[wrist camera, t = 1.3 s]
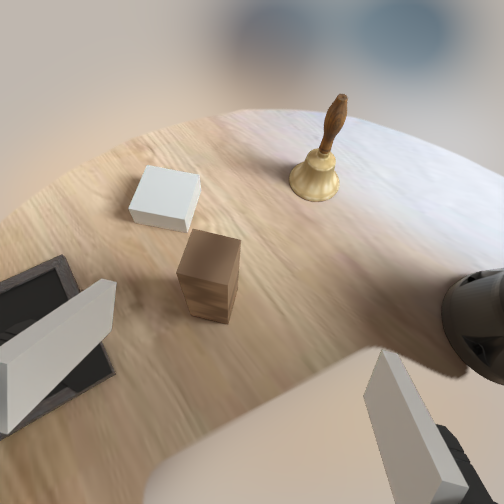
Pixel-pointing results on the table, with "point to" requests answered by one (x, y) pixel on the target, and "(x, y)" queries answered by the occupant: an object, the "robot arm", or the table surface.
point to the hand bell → (321, 159)
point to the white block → (166, 198)
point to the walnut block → (210, 275)
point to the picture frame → (36, 307)
